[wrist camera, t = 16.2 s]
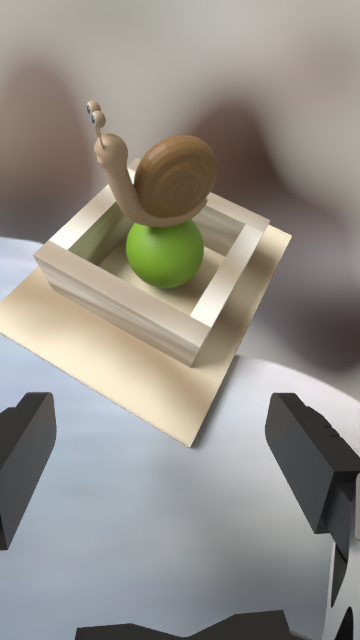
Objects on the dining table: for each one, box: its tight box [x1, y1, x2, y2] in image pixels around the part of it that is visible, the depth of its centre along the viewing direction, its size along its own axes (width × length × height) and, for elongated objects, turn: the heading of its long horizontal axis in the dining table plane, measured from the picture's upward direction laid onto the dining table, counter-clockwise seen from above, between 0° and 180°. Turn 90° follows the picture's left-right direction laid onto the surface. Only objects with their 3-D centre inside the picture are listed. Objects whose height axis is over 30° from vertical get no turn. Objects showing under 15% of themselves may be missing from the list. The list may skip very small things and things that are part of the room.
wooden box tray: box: [0, 158, 292, 448], centre depth 21 cm, size 20×16×5 cm
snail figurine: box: [87, 101, 217, 288], centre depth 16 cm, size 5×6×12 cm
